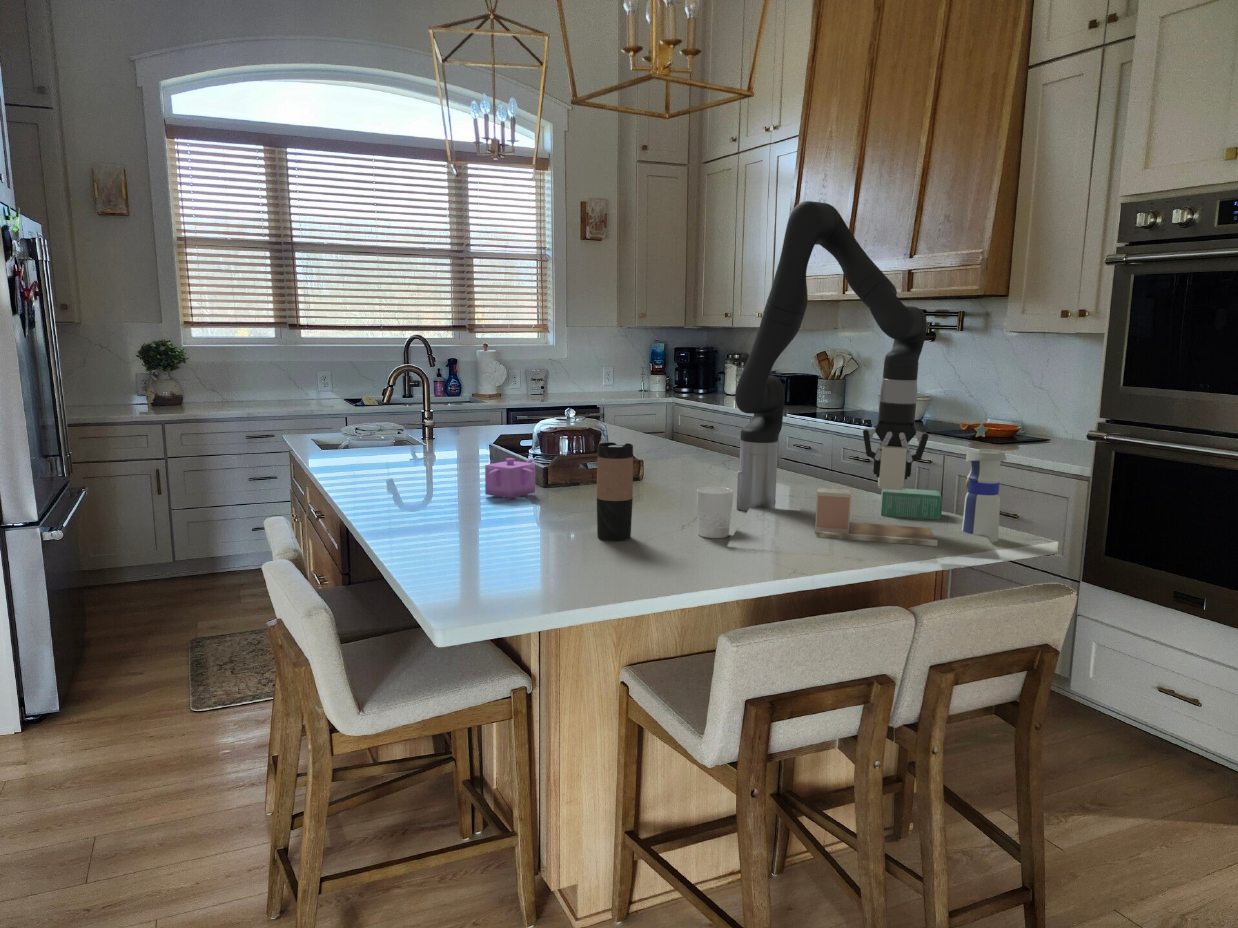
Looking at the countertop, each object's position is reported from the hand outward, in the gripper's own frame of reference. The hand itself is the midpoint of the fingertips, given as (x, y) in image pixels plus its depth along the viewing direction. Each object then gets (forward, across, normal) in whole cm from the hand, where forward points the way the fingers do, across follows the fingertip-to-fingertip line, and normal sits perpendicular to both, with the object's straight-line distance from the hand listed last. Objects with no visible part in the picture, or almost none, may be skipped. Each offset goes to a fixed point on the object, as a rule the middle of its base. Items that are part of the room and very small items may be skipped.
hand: (891, 477), depth 190 cm
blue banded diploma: (+13, +19, +4) cm, 23 cm away
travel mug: (+14, -57, -21) cm, 62 cm away
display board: (+13, -3, -4) cm, 14 cm away
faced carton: (+12, -12, -7) cm, 18 cm away
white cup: (+14, -37, -12) cm, 41 cm away
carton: (+2, 0, 0) cm, 2 cm away
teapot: (+15, -94, +14) cm, 96 cm away
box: (+13, +6, +17) cm, 23 cm away
